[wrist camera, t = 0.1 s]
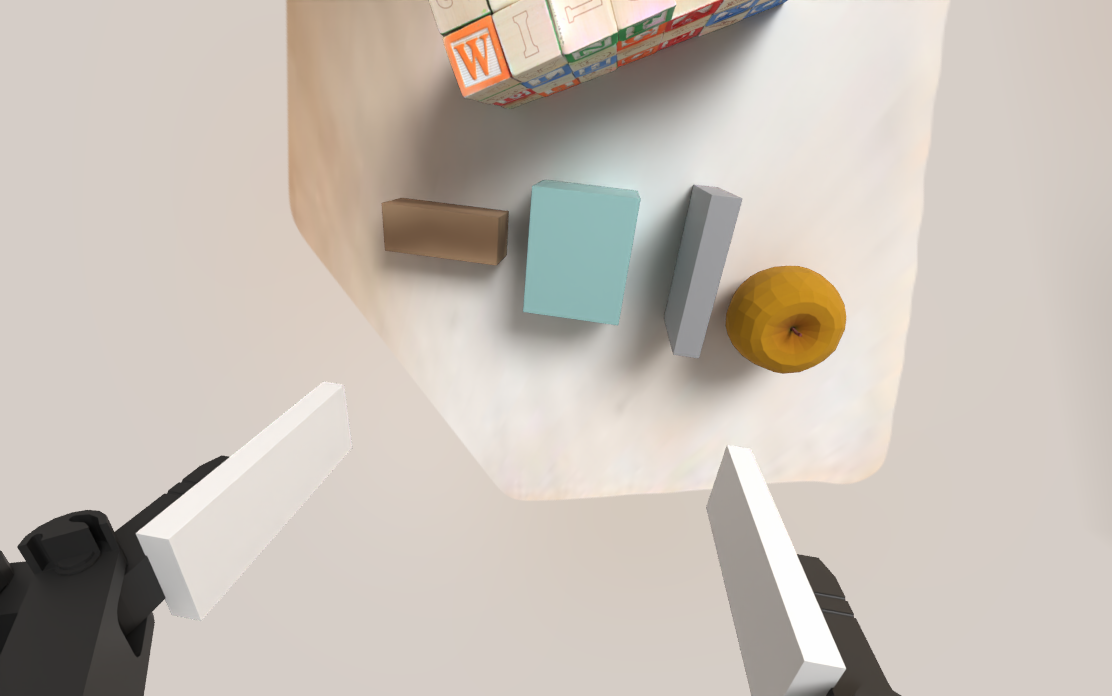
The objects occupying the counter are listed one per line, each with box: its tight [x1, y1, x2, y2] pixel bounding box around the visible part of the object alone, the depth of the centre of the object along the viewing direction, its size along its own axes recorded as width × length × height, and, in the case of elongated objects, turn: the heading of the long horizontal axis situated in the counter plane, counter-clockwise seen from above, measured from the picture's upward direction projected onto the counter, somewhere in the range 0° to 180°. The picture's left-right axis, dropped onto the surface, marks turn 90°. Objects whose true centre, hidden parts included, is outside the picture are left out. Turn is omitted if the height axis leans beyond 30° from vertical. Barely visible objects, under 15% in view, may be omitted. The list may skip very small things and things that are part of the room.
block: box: [523, 180, 640, 325], centre depth 37 cm, size 10×8×6 cm
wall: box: [664, 185, 742, 358], centre depth 35 cm, size 12×2×8 cm, turn 174°
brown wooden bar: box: [382, 198, 509, 265], centre depth 39 cm, size 4×10×4 cm, turn 84°
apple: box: [726, 266, 846, 374], centre depth 36 cm, size 8×8×9 cm
